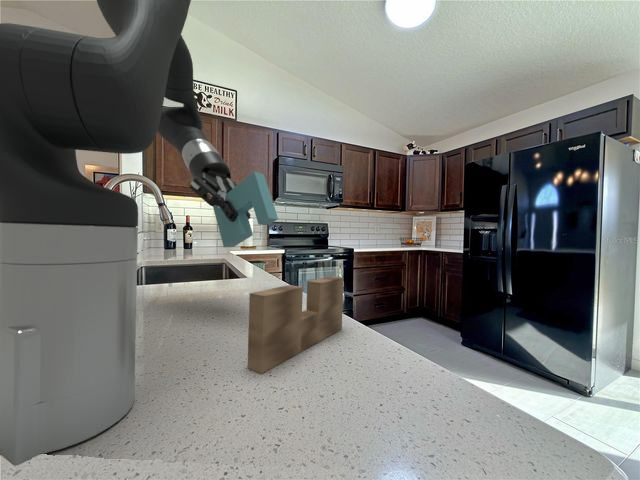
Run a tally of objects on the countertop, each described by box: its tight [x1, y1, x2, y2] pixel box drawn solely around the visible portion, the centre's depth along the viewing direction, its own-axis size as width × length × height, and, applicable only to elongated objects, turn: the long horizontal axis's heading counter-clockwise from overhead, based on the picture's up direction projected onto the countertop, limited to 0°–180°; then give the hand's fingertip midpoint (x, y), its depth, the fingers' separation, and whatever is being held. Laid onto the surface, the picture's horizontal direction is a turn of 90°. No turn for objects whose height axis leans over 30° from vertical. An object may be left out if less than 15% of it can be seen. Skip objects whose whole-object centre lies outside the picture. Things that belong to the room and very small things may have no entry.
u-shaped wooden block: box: [247, 275, 344, 375], centre depth 42 cm, size 20×2×10 cm, turn 146°
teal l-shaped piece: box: [212, 171, 279, 248], centre depth 53 cm, size 14×2×10 cm, turn 57°
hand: (240, 218), depth 54 cm, fingers closed on teal l-shaped piece, 2 cm apart
